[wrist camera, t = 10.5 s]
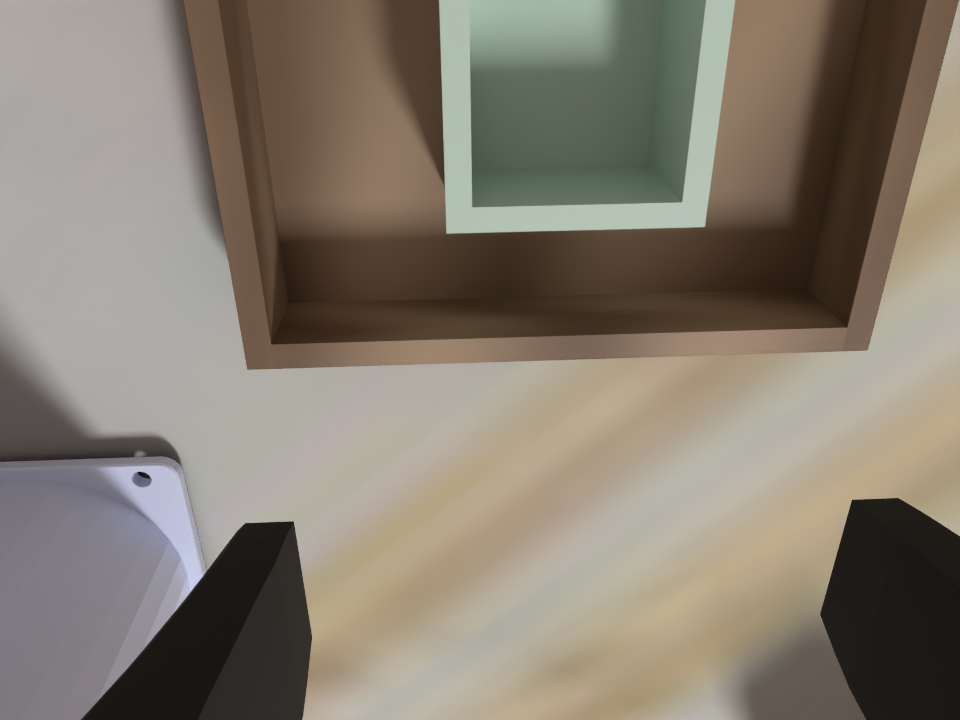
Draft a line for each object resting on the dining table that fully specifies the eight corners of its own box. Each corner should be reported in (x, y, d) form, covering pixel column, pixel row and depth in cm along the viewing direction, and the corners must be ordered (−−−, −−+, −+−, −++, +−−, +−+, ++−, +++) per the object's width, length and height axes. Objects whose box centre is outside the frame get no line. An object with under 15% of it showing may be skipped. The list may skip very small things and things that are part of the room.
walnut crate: (271, 316, 19) (247, 369, 17) (156, -446, 13) (89, -539, 10) (814, 300, 20) (867, 350, 18) (974, -439, 13) (1095, -525, 11)
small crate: (444, 186, 18) (446, 233, 15) (433, -187, 14) (431, -220, 11) (661, 182, 18) (704, 226, 15) (700, -189, 14) (765, -222, 12)
